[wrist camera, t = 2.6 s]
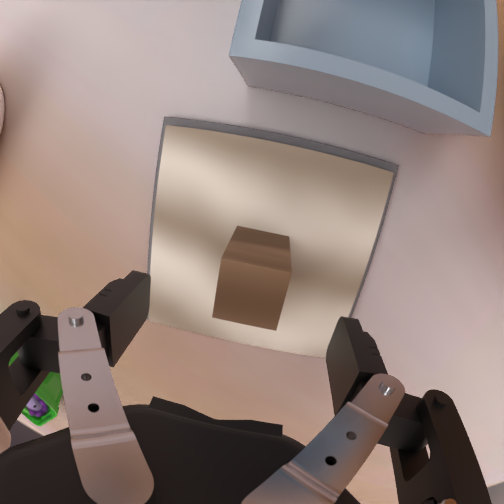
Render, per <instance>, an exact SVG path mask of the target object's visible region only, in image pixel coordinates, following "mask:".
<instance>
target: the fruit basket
mask: <svg viewBox="0 0 504 504" xmlns="http://www.w3.org/2000/svg"><path fill="white" fill-rule="evenodd" d="M18 356H19V354H18V351H17V352H16V353H15V354H14V355H13V356H12V358H11V359H10V362H9V366H10V365H11V364H12V363H13V362H14V360H15V359H16V358H17V357H18ZM62 393H63V390H62V383H61V375H60V373H54V372H50V373H49V374H48V376H47V377H46V378H45V380H44V381H43V382H42V384H41V385H40V387H39V388H38V389H37V391H36V392H35V394H34V395H33V396H32V398H31V399H30V401H29V402H28V404H27V405H26V406H25V408H24V409H23V411H22V412H21V413H22V414H23V415H25V416H26V417H27V418H28V419H29V420H30V421H31V422H32V423H34V424H35V425H37V426H42V425H43V424H45V423H47V422H48V421H50V420H52V419H54V418H55V417H56V416H57V414H58V410H59V407H58V406H59V402H60V399H61V396H62Z"/></svg>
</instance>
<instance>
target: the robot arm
mask: <svg viewBox="0 0 504 504" xmlns="http://www.w3.org/2000/svg"><path fill="white" fill-rule="evenodd" d="M150 287H151V276H150V275H149V274H146V273H142V272H138V271H134V270H133V271H132V272H130V273H129V274H128V275H127V276H126V277H125V278H124V279H120V278H119V279H117V280H114V281H112V282H110V283H109V284H108V285H106V286H105V287H104V289H102V290H101V291H100V292H99V293H98V294H97V295H96V296H95V297H94V298H92V299H91V300H90V301H89V302H88V303H87V304H86V305H85V306H84V307H83V308H79V307H74V308H68V309H66V310H64V311H62V312H61V313H60V314H59V316H58V317H52V316H44V315H41V312H40V307H39V305H38V304H37V303H35V302H33V301H27V300H24V301H18V302H16V303H13V304H12V305H11V306H9V307H8V308H7V309H6V310H5V311H4V312H2V313H1V314H0V504H360V503H359V502H358V501H357V500H356V499H355V498H354V497H353V496H352V495H351V494H350V493H349V491H348V490H347V489H346V487H347V485H348V484H349V483H350V481H351V480H352V479H353V477H354V476H355V475H356V473H357V472H358V470H359V469H360V468H361V466H362V465H363V463H364V462H365V461H366V459H367V458H368V456H369V455H370V453H371V452H372V450H373V449H374V447H375V446H376V444H377V443H378V444H381V445H385V446H388V447H390V452H391V458H392V463H393V469H394V475H395V481H396V487H397V494H398V501H399V504H492V503H491V500H490V496H489V493H488V490H487V487H486V484H485V481H484V478H483V475H482V472H481V469H480V466H479V463H478V461H477V458H476V455H475V453H474V450H473V447H472V445H471V442H470V440H469V437H468V435H467V432H466V430H465V427H464V425H463V423H462V420H461V418H460V416H459V413H458V411H457V409H456V406H455V404H454V402H453V400H452V399H451V398H450V397H449V396H448V395H447V394H445V393H444V392H442V391H439V390H429V391H427V392H426V393H425V395H424V396H423V398H419V397H416V396H412V395H409V394H406V393H405V388H404V386H403V384H402V383H401V382H400V381H399V380H398V379H397V378H395V377H393V376H391V375H388V373H387V370H386V368H385V365H384V363H383V360H382V358H381V356H380V353H379V350H378V349H377V345H376V343H375V340H374V339H373V338H372V337H371V336H370V335H369V334H368V333H367V332H363V330H362V327H361V325H360V322H359V320H358V319H354V318H349V317H343V316H341V317H340V318H339V320H338V322H337V324H336V327H335V329H334V332H333V335H332V337H331V340H330V342H329V345H328V348H327V352H326V363H327V369H328V375H329V381H330V388H331V394H332V400H333V407H334V414H335V417H334V418H333V419H332V420H331V421H330V422H329V423H328V424H327V425H326V427H325V428H324V429H323V430H322V431H321V432H320V433H319V434H318V435H317V436H316V437H315V438H314V439H313V440H312V441H311V442H310V443H309V444H308V445H307V446H306V447H305V446H304V445H303V444H301V443H300V442H298V441H296V440H294V439H292V438H290V437H288V436H286V435H283V434H282V427H283V425H279V424H272V423H266V422H260V421H254V420H216V419H213V418H210V417H208V416H206V415H204V414H202V413H199V412H197V411H195V410H193V409H191V408H189V407H187V406H185V405H181V404H178V403H174V402H171V401H167V400H164V399H160V398H157V397H154V396H153V398H152V400H151V402H150V405H142V404H137V405H128V406H122V404H121V401H120V398H119V395H118V392H117V389H116V386H115V383H114V380H113V377H112V374H111V370H110V367H109V366H111V367H114V366H115V364H116V363H117V361H118V360H119V358H120V357H121V355H122V354H123V353H124V351H125V350H126V348H127V347H128V345H129V344H130V342H131V341H132V339H133V338H134V336H135V335H136V333H137V332H138V331H139V329H140V328H141V326H142V325H143V323H144V322H145V320H146V319H147V316H148V313H149V307H150ZM17 351H18V354H19V356H18V357H17V358H16V359H15V360H14V362H13V363H12V364H11V365H10V366H9V362H10V359H11V358H12V356H13V355H14V354H15V353H16V352H17ZM50 372H54V373H60V375H61V383H62V390H63V396H64V403H65V408H66V414H67V419H68V424H69V427H68V428H65V429H62V430H60V431H57V432H54V433H51V434H49V435H46V436H43V437H40V438H37V439H35V440H31V441H28V442H25V443H22V444H19V445H16V446H13V447H10V448H9V446H10V443H11V435H10V432H9V430H10V429H11V427H12V426H13V424H14V423H15V421H16V420H17V418H18V417H19V415H20V414H21V412H22V411H23V409H24V408H25V406H26V405H27V404H28V402H29V401H30V399H31V398H32V396H33V395H34V394H35V392H36V391H37V389H38V388H39V387H40V385H41V384H42V382H43V381H44V380H45V378H46V377H47V376H48V374H49V373H50ZM427 444H428V445H429V448H430V459H429V457H428V453H427V450H426V445H427Z"/></svg>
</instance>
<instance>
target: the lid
mask: <svg viewBox="0 0 504 504" xmlns="http://www.w3.org/2000/svg"><path fill="white" fill-rule="evenodd" d="M393 174H394V173H393V172H390V171H387V170H384V169H381V168H377V167H374V166H370V165H367V164H363V163H360V162H356V161H353V160H349V159H345V158H342V157H338V156H334V155H330V154H326V153H322V152H318V151H314V150H309V149H305V148H301V147H296V146H292V145H287V144H282V143H278V142H273V141H268V140H262V139H257V138H252V137H246V136H240V135H235V134H228V133H222V132H216V131H209V130H202V129H194V128H187V127H178V126H170V125H166V128H165V134H164V140H163V147H162V154H161V161H160V169H159V176H158V185H157V193H156V203H155V213H154V224H153V236H152V249H151V265H150V276H151V287H150V307H149V321H150V322H154V323H157V324H161V325H165V326H169V327H173V328H177V329H180V330H184V331H188V332H193V333H197V334H201V335H205V336H209V337H214V338H218V339H223V340H227V341H232V342H237V343H241V344H246V345H251V346H256V347H262V348H267V349H272V350H278V351H283V352H289V353H295V354H301V355H307V356H313V357H320V358H326V352H327V348H328V345H329V342H330V340H331V337H332V335H333V332H334V329H335V327H336V324H337V322H338V320H339V318H340V317H341V316H343V317H348V316H349V314H350V311H351V309H352V306H353V303H354V301H355V298H356V295H357V292H358V290H359V287H360V284H361V281H362V278H363V275H364V272H365V270H366V267H367V264H368V261H369V258H370V254H371V251H372V248H373V245H374V242H375V239H376V235H377V232H378V229H379V225H380V222H381V219H382V215H383V212H384V208H385V204H386V201H387V197H388V193H389V189H390V186H391V182H392V178H393Z"/></svg>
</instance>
